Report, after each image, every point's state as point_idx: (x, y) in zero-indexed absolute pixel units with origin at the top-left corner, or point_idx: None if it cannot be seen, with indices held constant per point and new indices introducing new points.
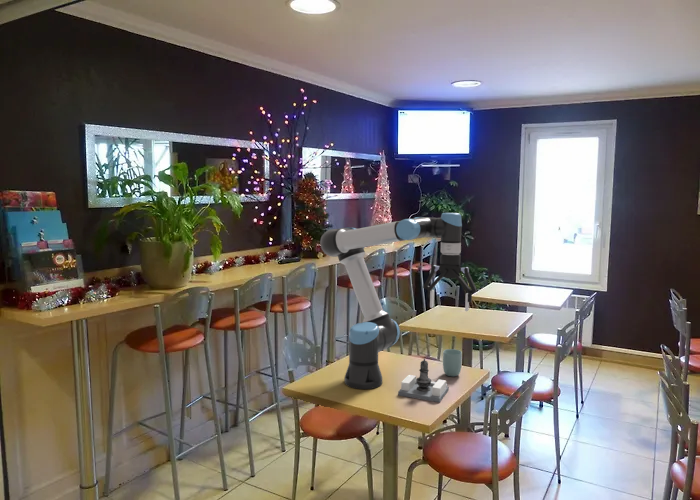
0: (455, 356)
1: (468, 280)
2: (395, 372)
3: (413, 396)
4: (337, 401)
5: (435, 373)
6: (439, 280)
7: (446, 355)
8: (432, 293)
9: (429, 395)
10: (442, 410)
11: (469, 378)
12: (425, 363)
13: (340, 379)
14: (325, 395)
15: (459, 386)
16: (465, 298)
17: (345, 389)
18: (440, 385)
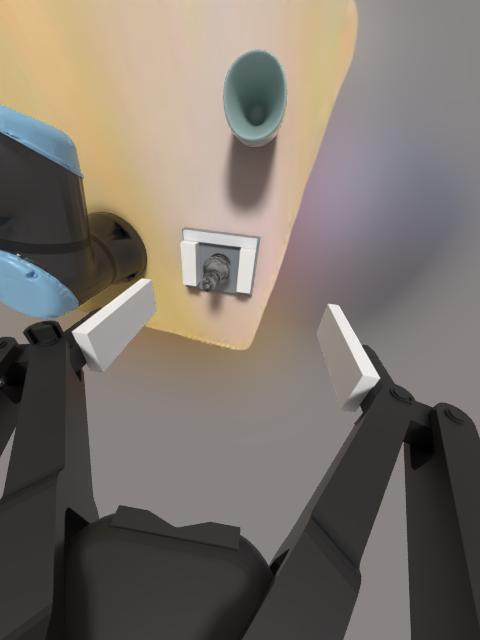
0: (267, 138)
1: (421, 568)
2: (131, 161)
3: None
4: None
5: (216, 125)
6: (82, 456)
7: (239, 138)
8: (112, 353)
9: (234, 288)
10: (259, 315)
11: (303, 132)
12: (212, 290)
13: None
14: None
15: (279, 206)
16: (332, 383)
17: None
18: (248, 280)
